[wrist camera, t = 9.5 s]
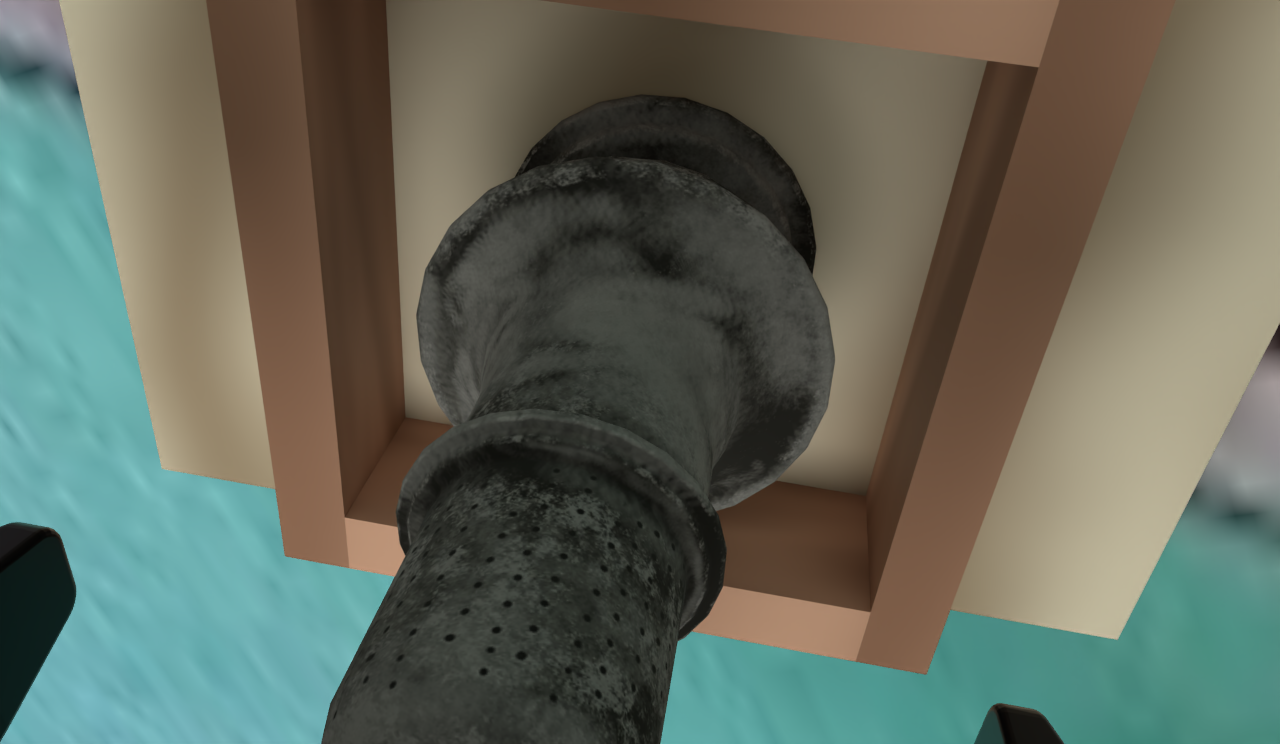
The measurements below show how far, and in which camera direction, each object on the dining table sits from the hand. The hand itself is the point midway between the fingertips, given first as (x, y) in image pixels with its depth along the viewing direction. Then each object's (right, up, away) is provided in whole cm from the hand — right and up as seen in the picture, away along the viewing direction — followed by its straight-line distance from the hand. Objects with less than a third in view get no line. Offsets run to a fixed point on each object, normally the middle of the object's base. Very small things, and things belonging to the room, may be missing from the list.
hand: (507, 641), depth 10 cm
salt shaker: (+2, +5, +8) cm, 9 cm away
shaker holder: (+2, +6, +9) cm, 10 cm away
